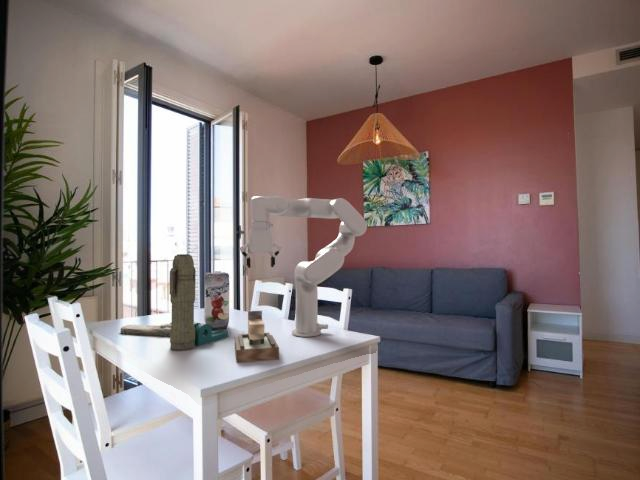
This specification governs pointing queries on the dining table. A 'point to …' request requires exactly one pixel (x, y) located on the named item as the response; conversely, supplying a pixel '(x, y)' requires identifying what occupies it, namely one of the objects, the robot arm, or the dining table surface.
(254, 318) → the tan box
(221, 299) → the juice carton
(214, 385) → the dining table surface
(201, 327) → the bracket
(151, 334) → the long grey stone
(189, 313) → the thermos
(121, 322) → the dining table surface
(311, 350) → the dining table surface
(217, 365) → the dining table surface
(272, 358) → the dock
